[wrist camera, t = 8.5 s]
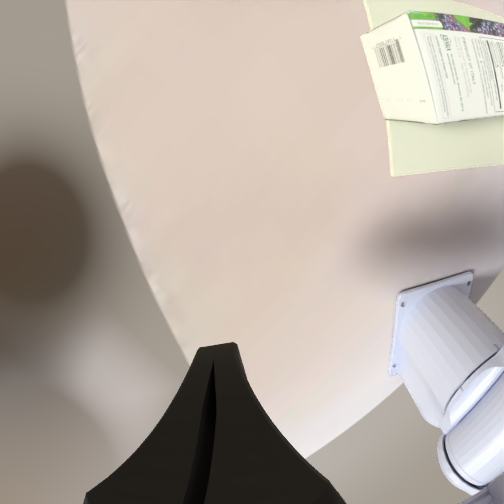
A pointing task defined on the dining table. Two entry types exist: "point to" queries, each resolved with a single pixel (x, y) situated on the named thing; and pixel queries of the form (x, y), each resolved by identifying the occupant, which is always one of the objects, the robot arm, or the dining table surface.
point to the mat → (443, 135)
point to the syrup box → (437, 67)
